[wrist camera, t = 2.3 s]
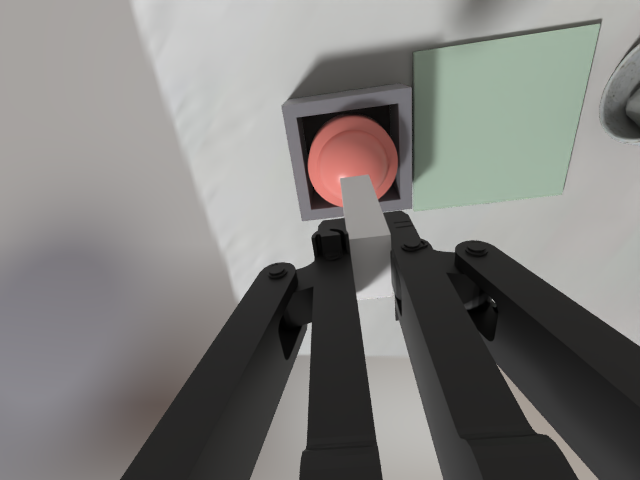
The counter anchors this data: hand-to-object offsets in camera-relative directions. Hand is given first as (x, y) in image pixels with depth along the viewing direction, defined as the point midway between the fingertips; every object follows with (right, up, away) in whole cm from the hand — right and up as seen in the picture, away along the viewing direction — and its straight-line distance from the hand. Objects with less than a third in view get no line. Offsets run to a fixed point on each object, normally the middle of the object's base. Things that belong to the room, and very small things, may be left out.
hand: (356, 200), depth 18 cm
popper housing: (+1, +6, +11) cm, 12 cm away
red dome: (0, +5, +9) cm, 10 cm away
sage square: (+12, +7, +10) cm, 17 cm away
